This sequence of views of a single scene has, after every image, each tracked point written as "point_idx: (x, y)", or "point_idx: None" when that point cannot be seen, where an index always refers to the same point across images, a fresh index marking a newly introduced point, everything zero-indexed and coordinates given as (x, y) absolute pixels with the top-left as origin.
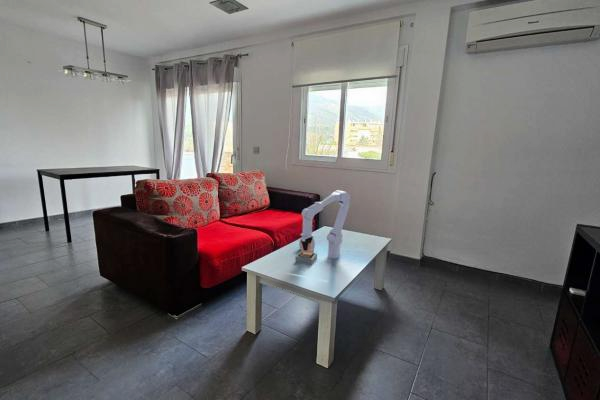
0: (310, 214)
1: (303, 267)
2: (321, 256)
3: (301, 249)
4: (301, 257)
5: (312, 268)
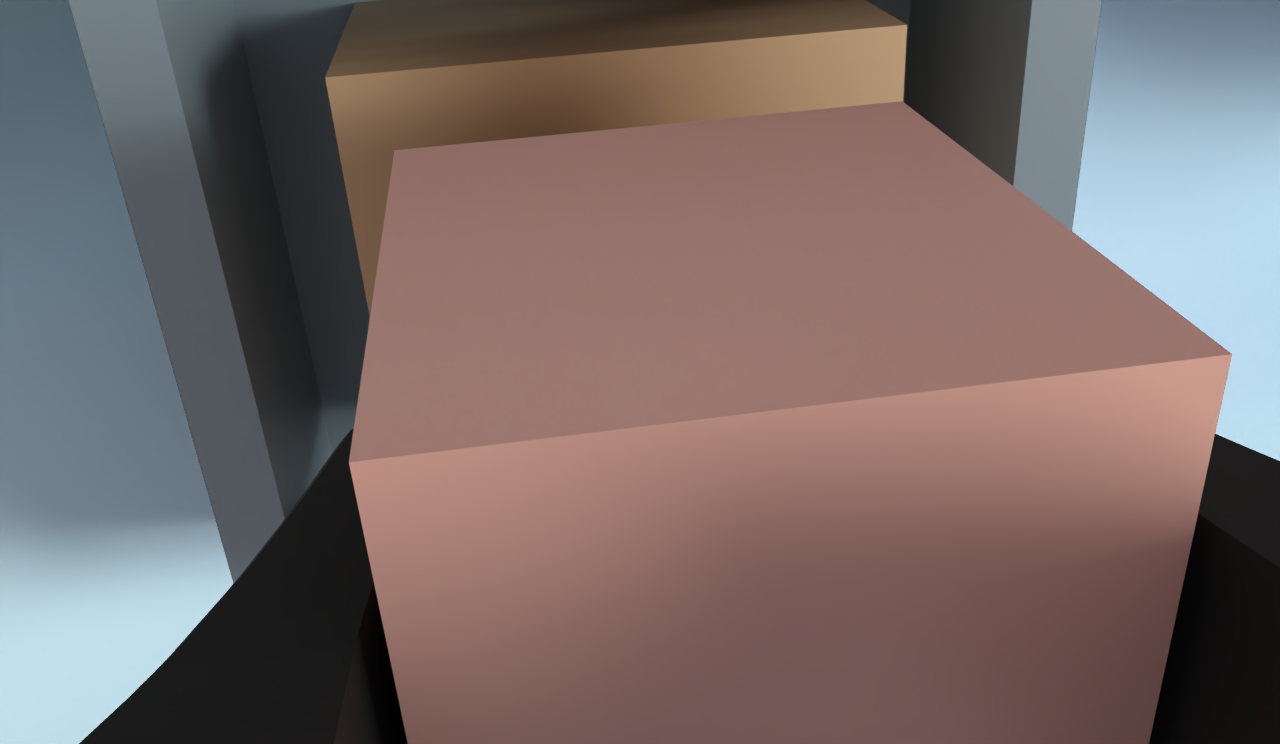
0: None
1: (17, 325)
2: (1260, 438)
3: (384, 239)
4: (142, 241)
5: (167, 599)
